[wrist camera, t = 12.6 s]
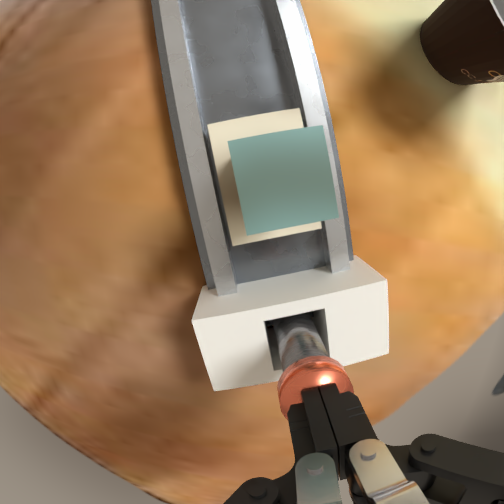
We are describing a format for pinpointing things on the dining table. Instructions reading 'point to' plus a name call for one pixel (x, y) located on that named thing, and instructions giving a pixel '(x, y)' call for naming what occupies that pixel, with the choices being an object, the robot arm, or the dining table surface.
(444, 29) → the coffee mug
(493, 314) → the dining table surface
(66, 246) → the dining table surface
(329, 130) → the rail bed
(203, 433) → the dining table surface
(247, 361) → the end cabinet
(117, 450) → the dining table surface
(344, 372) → the gauge plunger
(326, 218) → the carriage
